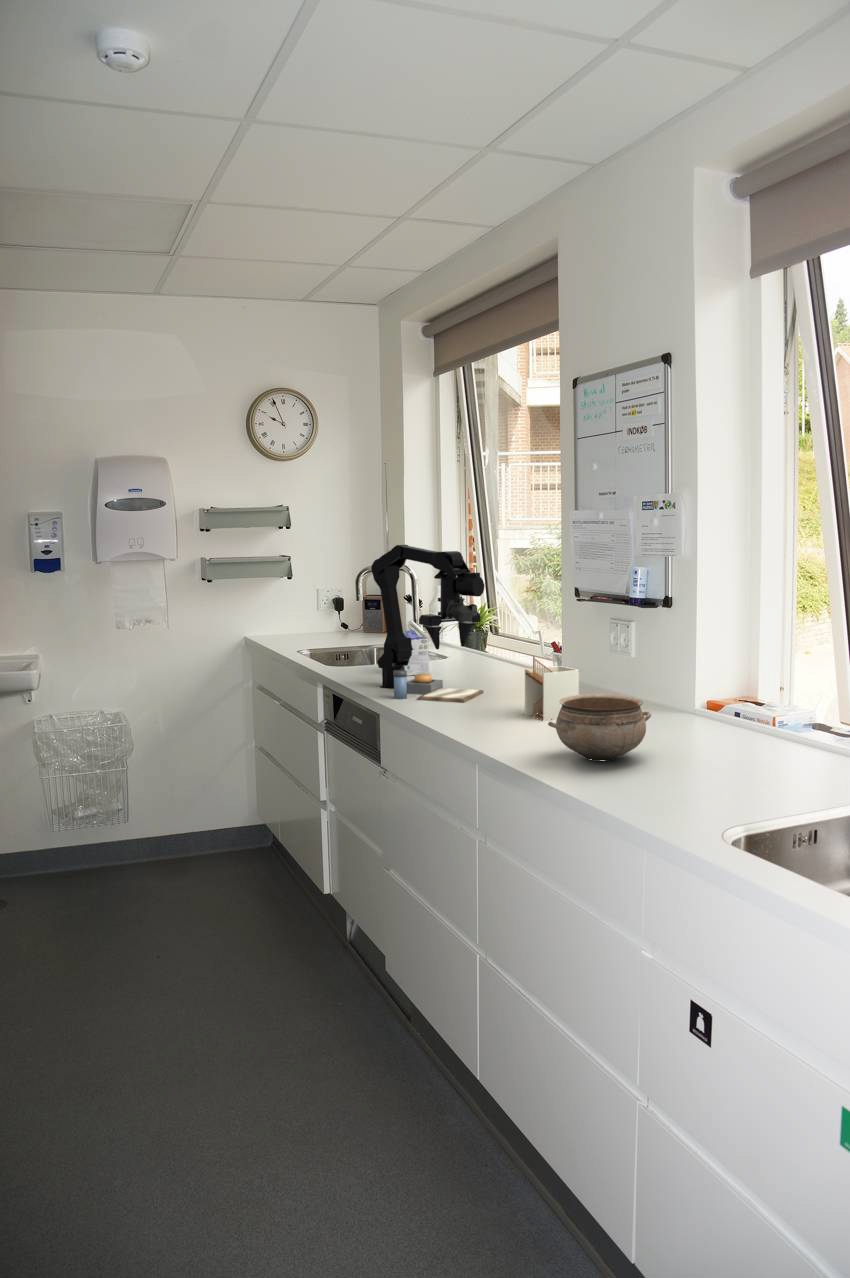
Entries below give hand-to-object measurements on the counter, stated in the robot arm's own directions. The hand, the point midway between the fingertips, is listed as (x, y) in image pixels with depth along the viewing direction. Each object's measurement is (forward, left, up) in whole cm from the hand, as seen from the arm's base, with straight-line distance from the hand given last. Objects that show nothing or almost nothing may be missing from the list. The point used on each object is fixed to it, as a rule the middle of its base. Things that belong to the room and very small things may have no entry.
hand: (450, 647), depth 288 cm
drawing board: (+2, -4, -14) cm, 14 cm away
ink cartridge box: (-25, +30, -14) cm, 42 cm away
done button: (-9, +1, -11) cm, 14 cm away
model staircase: (+37, -22, -14) cm, 45 cm away
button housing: (-9, +1, -14) cm, 17 cm away
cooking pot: (+59, -62, -14) cm, 86 cm away
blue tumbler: (-11, -11, -14) cm, 21 cm away
